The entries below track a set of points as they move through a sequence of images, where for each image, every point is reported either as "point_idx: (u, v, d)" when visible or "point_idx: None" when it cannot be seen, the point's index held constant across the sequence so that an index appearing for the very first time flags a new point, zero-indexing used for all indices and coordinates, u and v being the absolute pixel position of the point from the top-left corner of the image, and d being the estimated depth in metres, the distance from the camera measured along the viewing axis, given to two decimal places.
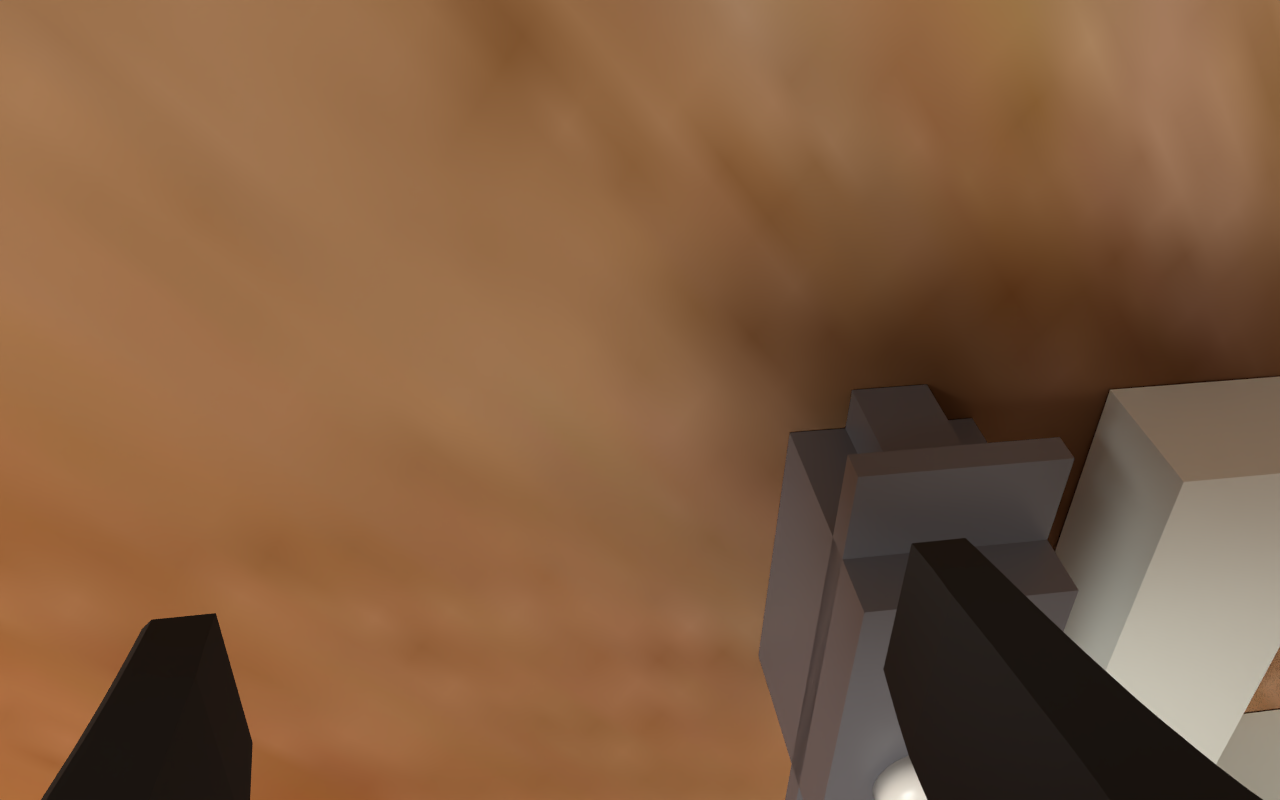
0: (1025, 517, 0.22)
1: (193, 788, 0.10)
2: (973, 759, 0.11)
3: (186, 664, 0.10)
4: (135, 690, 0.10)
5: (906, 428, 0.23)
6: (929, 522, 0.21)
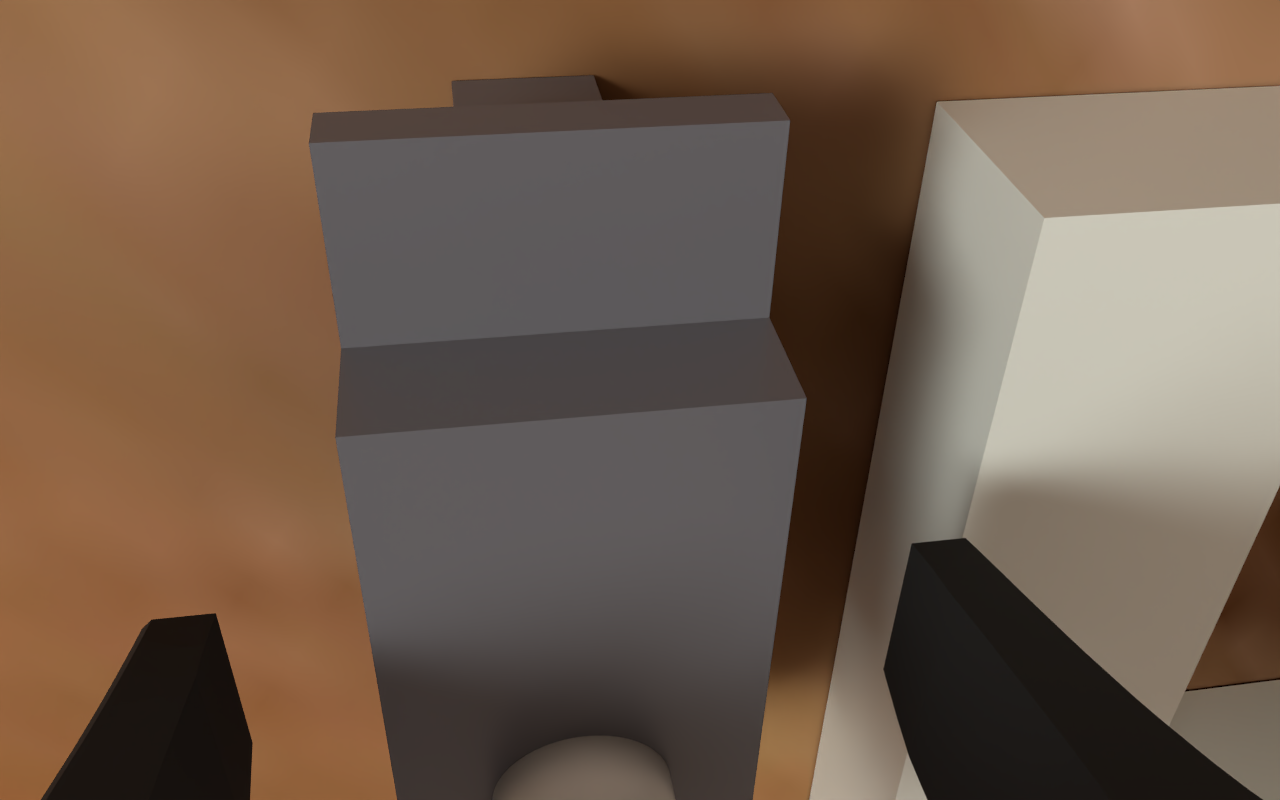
0: (712, 263, 0.11)
1: (193, 788, 0.10)
2: (974, 758, 0.11)
3: (186, 664, 0.10)
4: (135, 690, 0.10)
5: None
6: (507, 267, 0.10)
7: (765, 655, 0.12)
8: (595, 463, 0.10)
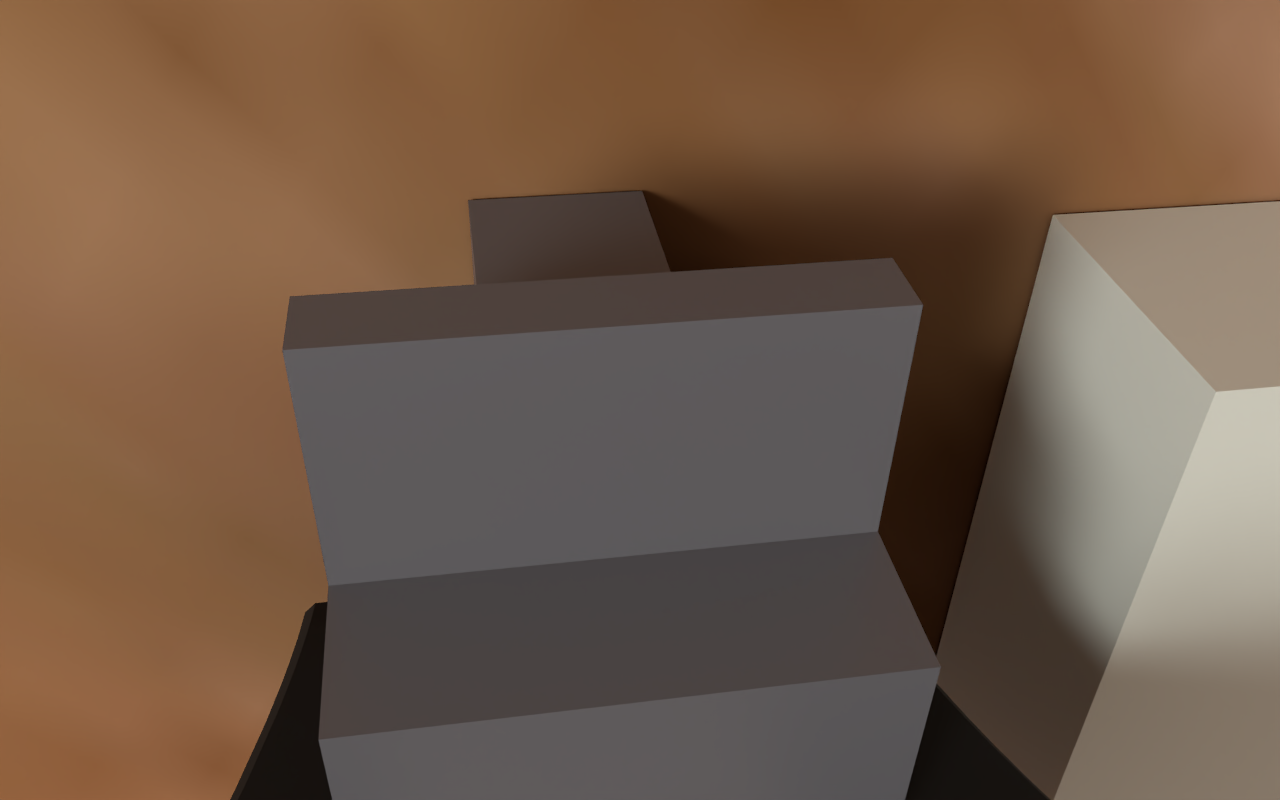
0: (810, 473, 0.08)
1: None
2: None
3: None
4: (316, 671, 0.10)
5: (558, 270, 0.10)
6: (545, 485, 0.08)
7: None
8: (661, 750, 0.08)
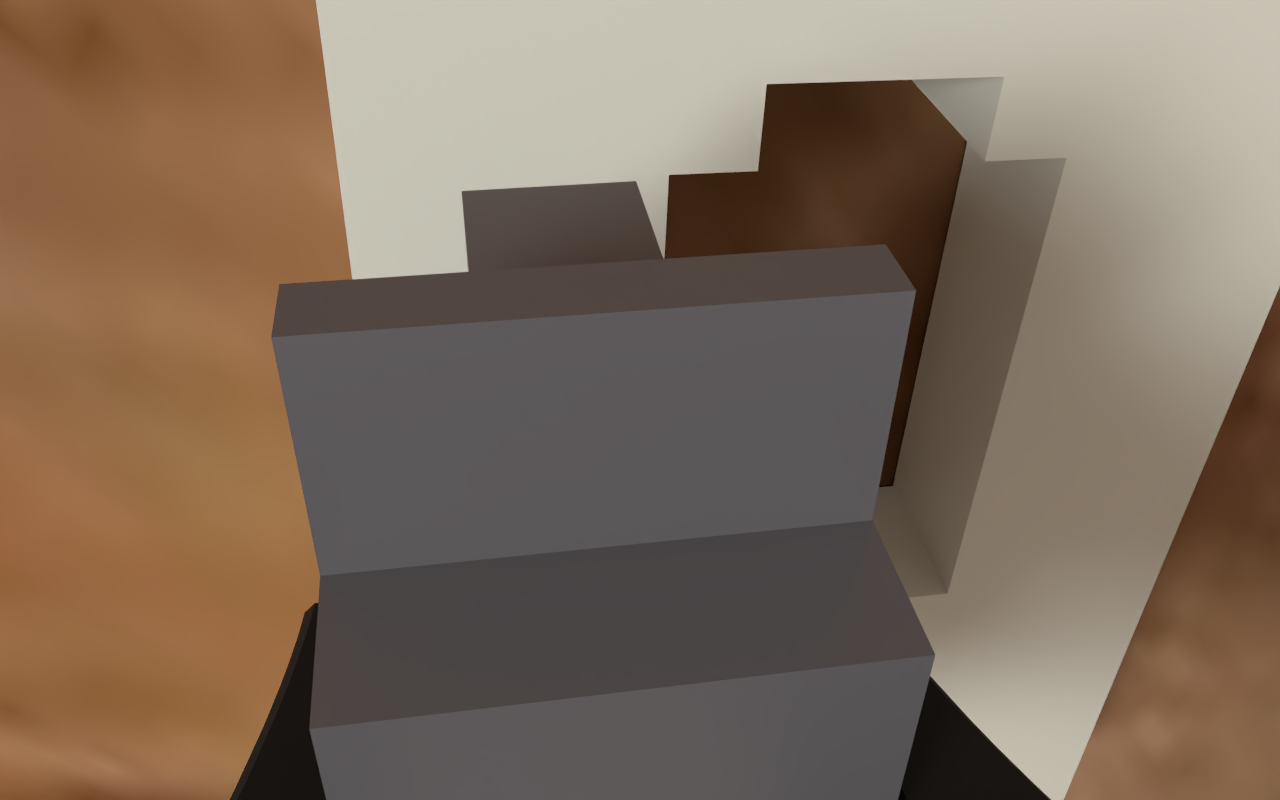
0: (804, 461, 0.08)
1: None
2: None
3: None
4: None
5: (551, 260, 0.10)
6: (537, 474, 0.08)
7: None
8: (655, 739, 0.08)
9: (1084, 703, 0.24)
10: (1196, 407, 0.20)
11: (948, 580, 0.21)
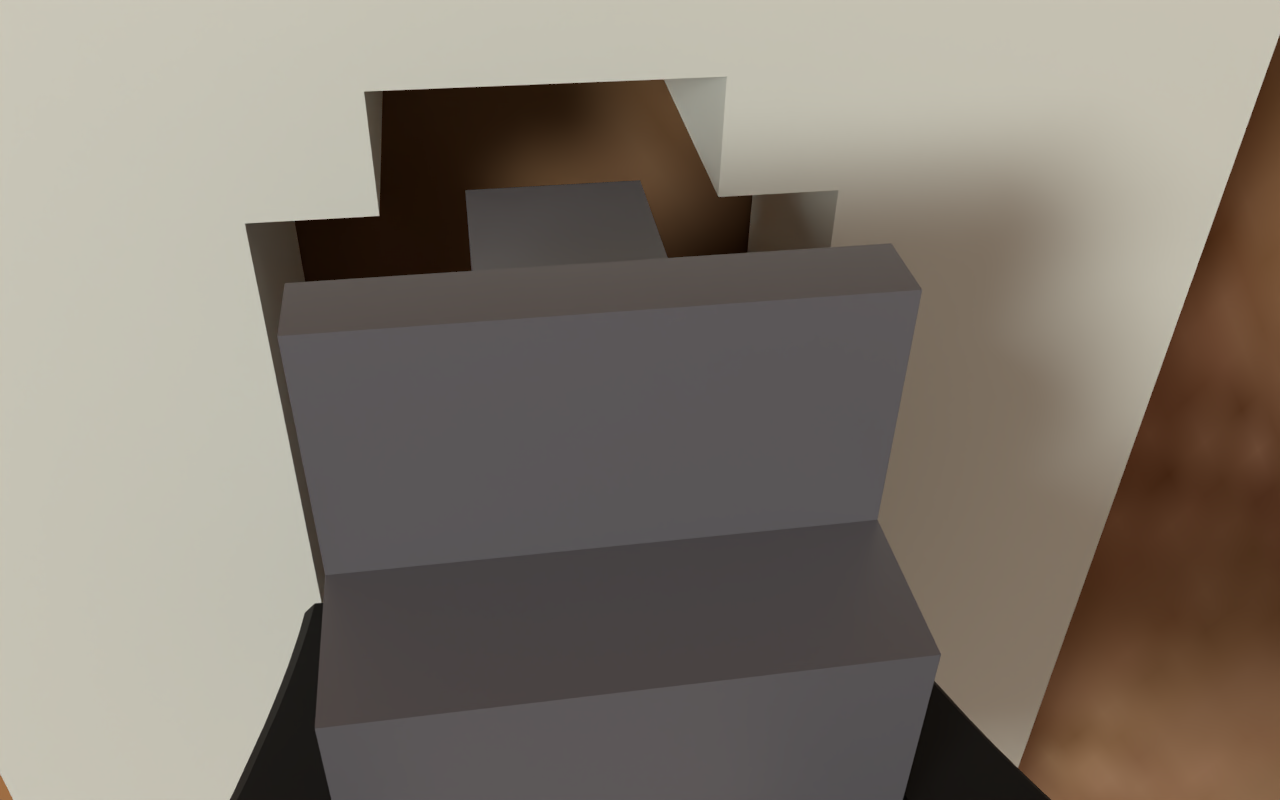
0: (809, 460, 0.08)
1: None
2: None
3: None
4: (315, 671, 0.10)
5: (555, 259, 0.10)
6: (542, 474, 0.08)
7: None
8: (660, 739, 0.08)
9: None
10: (1066, 509, 0.15)
11: None
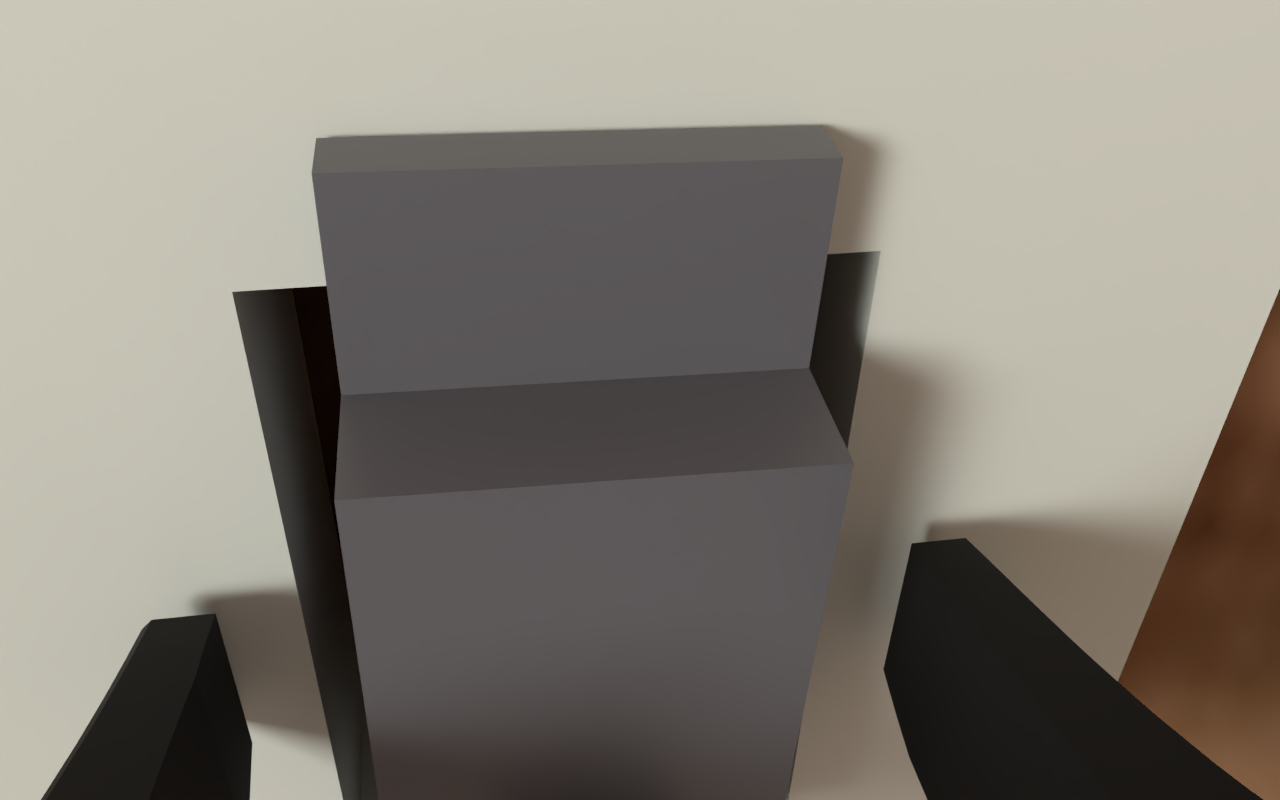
0: (750, 309, 0.10)
1: (193, 788, 0.10)
2: (974, 758, 0.11)
3: (186, 664, 0.10)
4: (135, 690, 0.10)
5: None
6: (525, 310, 0.09)
7: (792, 729, 0.11)
8: (619, 529, 0.09)
9: None
10: (1114, 577, 0.14)
11: (787, 795, 0.16)
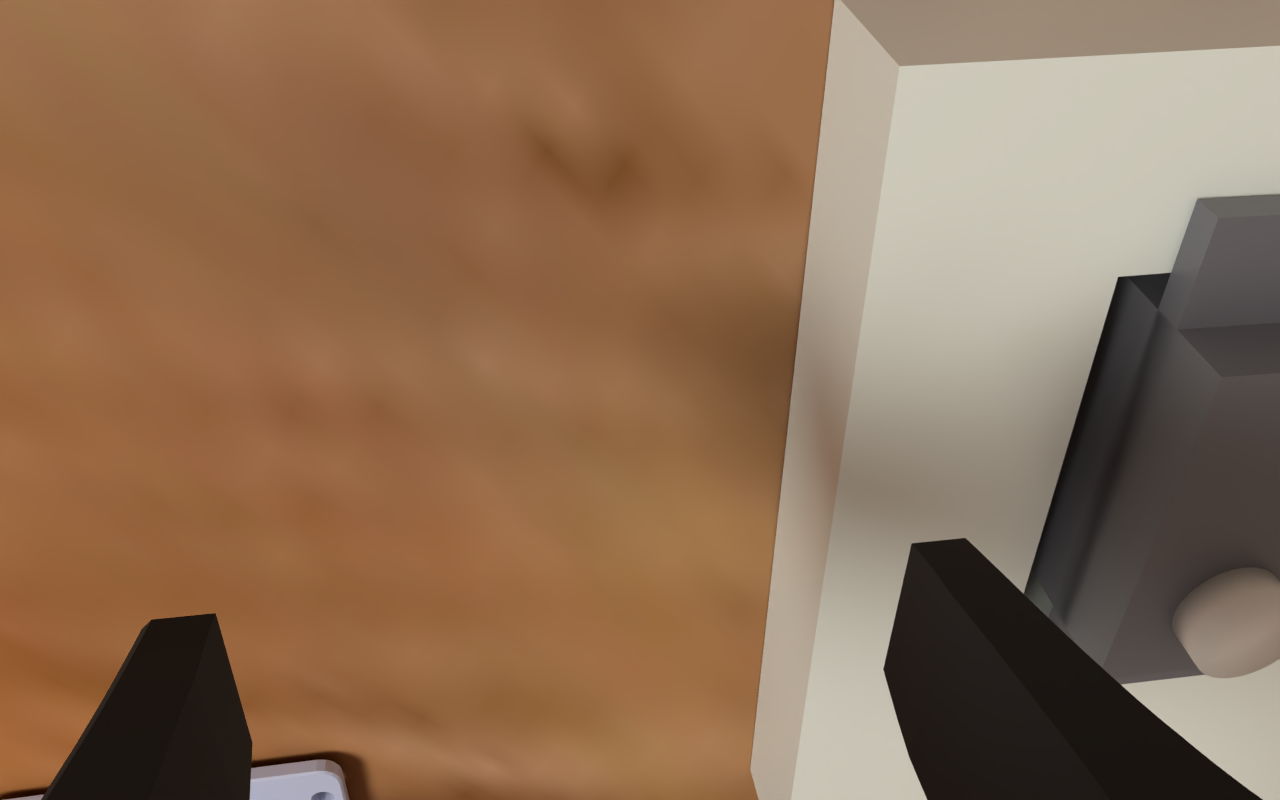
0: None
1: (193, 788, 0.10)
2: (974, 758, 0.11)
3: (186, 664, 0.10)
4: (135, 690, 0.10)
5: None
6: None
7: None
8: None
9: None
10: None
11: None
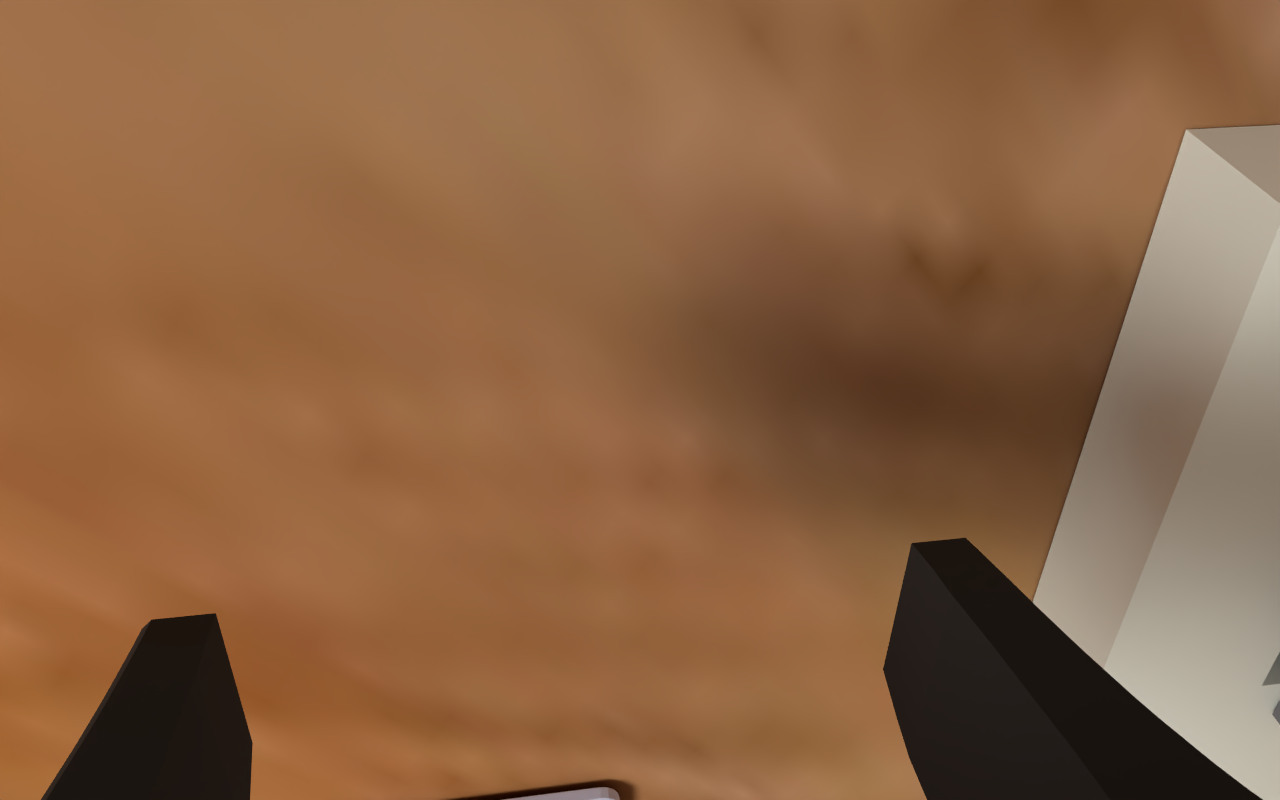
0: None
1: (193, 788, 0.10)
2: (974, 759, 0.11)
3: (186, 664, 0.10)
4: (135, 690, 0.10)
5: None
6: None
7: None
8: None
9: None
10: None
11: None
